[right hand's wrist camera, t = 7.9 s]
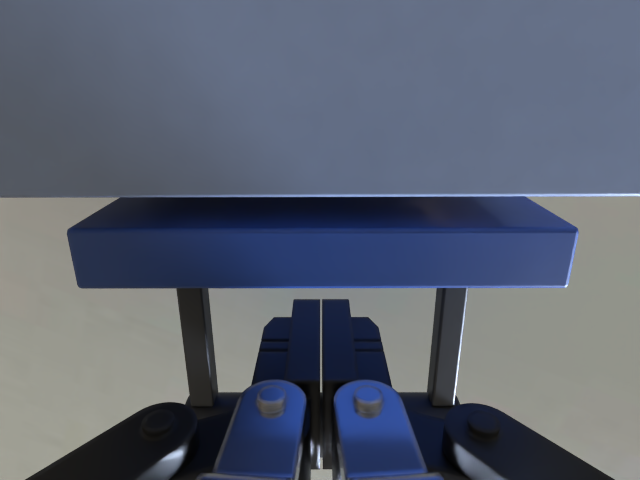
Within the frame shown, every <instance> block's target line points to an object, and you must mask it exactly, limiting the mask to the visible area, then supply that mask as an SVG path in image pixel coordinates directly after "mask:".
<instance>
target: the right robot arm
mask: <svg viewBox="0 0 640 480" xmlns="http://www.w3.org/2000/svg"><path fill="white" fill-rule="evenodd" d="M261 340H262V341H261V344H260V348H259V353H258V357H257V362H256V366H255V371H254V376H253V380H252V385H251V386H250V387H248V388H247V389H246V390H245V391H244V392H243V393H242V394H241V395H240V397H239V399H238V402H237V404H236V407H235V408H233V409H231V410H230V411H227V412H225V413H222V414H219V415H215V416H211V417H207V418H203V419H198V420H197V417H196V414H195V412H194V411H193V410H192V409H191V408H190V407H188V406H186V405H184V404H181V403H175V402H167V403H159V404H155V405H152V406H149V407H146V408H144V409H142V410H140V411H138V412H137V413H135V414H133V415H132V416H130V417H128V418H127V419H125V420H123V421H122V422H120V423H119V424H117V425H115V426H114V427H112V428H110V429H109V430H107V431H105V432H104V433H102V434H100V435H99V436H97V437H95V438H94V439H92V440H90V441H89V442H87V443H85V444H84V445H82V446H80V447H79V448H77V449H75V450H74V451H72V452H70V453H69V454H67V455H65V456H64V457H62V458H60V459H59V460H57V461H55V462H54V463H52V464H51V465H49V466H47V467H46V468H44V469H42V470H41V471H39V472H37V473H36V474H34V475H32V476H31V477H29V478H27V479H26V480H310V479H311V469H320V299H294V301H293V310H292V317H274V318H273V319H272V320H271V321H270V322H269V323H268V324H267V325H266V326H265V327H264V330H263V335H262V339H261ZM322 407H323V469H332V475H333V480H614V479H613V478H611V477H609V476H608V475H606V474H604V473H603V472H601V471H599V470H598V469H596V468H594V467H593V466H591V465H590V464H588V463H586V462H585V461H583V460H581V459H580V458H578V457H576V456H575V455H573V454H571V453H570V452H568V451H566V450H565V449H563V448H561V447H560V446H558V445H556V444H555V443H553V442H551V441H550V440H548V439H546V438H545V437H543V436H541V435H540V434H538V433H536V432H535V431H533V430H531V429H530V428H528V427H526V426H525V425H523V424H522V423H520V422H518V421H517V420H515V419H513V418H512V417H510V416H508V415H507V414H505V413H503V412H501V411H499V410H498V409H495V408H493V407H490V406H487V405H482V404H475V403H467V404H461V405H458V406H455V407H453V408H452V409H451V410H449V411H448V413H447V414H446V417H445V419H441V418H437V417H433V416H429V415H425V414H422V413H419V412H416V411H414V410H412V409H410V408H408V407H407V406H405V405H404V404H403V402H402V399H401V397H400V395H399V394H398V393H397V392H396V391H395V390H394V389H393V388H392V385H391V380H390V376H389V372H388V367H387V363H386V359H385V354H384V352H383V346H382V342H381V337H380V333H379V328H378V327H377V326H376V325H375V324H374V323H373V322H372V321H371V320H370V319H369V318H368V317H351V314H350V306H349V300H348V299H322Z"/></svg>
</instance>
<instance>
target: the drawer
mask: <svg viewBox="0 0 640 480" xmlns="http://www.w3.org/2000/svg"><path fill="white" fill-rule="evenodd" d="M67 236H68V241H69V246H70V251H71V256H72V261H73V265H74V270H75V275H76V280H77V285H78V287H79V288H177V296H178V304H179V312H180V320H181V329H182V337H183V345H184V353H185V361H186V369H187V377H188V385H189V393H190V395H189V397H188V399H187V401H186V404H185V405H186V406H188V407H190V408H191V409H192V410H193V411H194V412H195V414H196V417H197V420H198V419H203V418H207V417H211V416H215V415H219V414H222V413H225V412H227V411H230V410H231V409H233V408H235V407H236V404H237V402H238V399H239V397H240V395H241V394H242V393H243V392H218V386H217V375H216V365H215V355H214V344H213V334H212V324H211V314H210V303H209V293H208V288H437V292H436V303H435V313H434V324H433V335H432V345H431V356H430V367H429V377H428V388H427V392H397V393H398V394H399V395H400V397H401V399H402V402H403V404H404V405H405V406H407V407H408V408H410V409H412V410H414V411H416V412H419V413H422V414H425V415H429V416H433V417H437V418H441V419H445V417H446V414H447V413H448V411H449V410H451V409H452V408H453V407H455V406H458V405H460V403H459V401H458V398H457V397H456V395H455V393H456V384H457V376H458V368H459V359H460V351H461V343H462V334H463V326H464V318H465V309H466V301H467V293H468V288H564V287H567V285H568V282H569V278H570V273H571V268H572V263H573V258H574V253H575V248H576V243H577V238H578V229H577V228H576V227H575V226H573V225H571V224H570V223H568V222H566V221H565V220H563V219H561V218H560V217H558V216H556V215H555V214H553V213H551V212H550V211H548V210H546V209H545V208H543V207H541V206H540V205H538V204H536V203H535V202H533V201H531V200H530V199H528V198H526V197H525V196H445V197H120V198H119V199H117V200H115V201H114V202H112V203H110V204H109V205H107V206H105V207H104V208H102V209H100V210H99V211H97V212H95V213H94V214H92V215H90V216H89V217H87V218H86V219H84V220H82V221H81V222H79V223H77V224H76V225H74V226H72V227H71V228H69V229H68V231H67ZM320 457H323V407H322V392H320Z"/></svg>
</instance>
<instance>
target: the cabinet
mask: <svg viewBox="0 0 640 480" xmlns="http://www.w3.org/2000/svg"><path fill="white" fill-rule="evenodd" d="M445 196H640V0H0V198H19V197H445Z"/></svg>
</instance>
